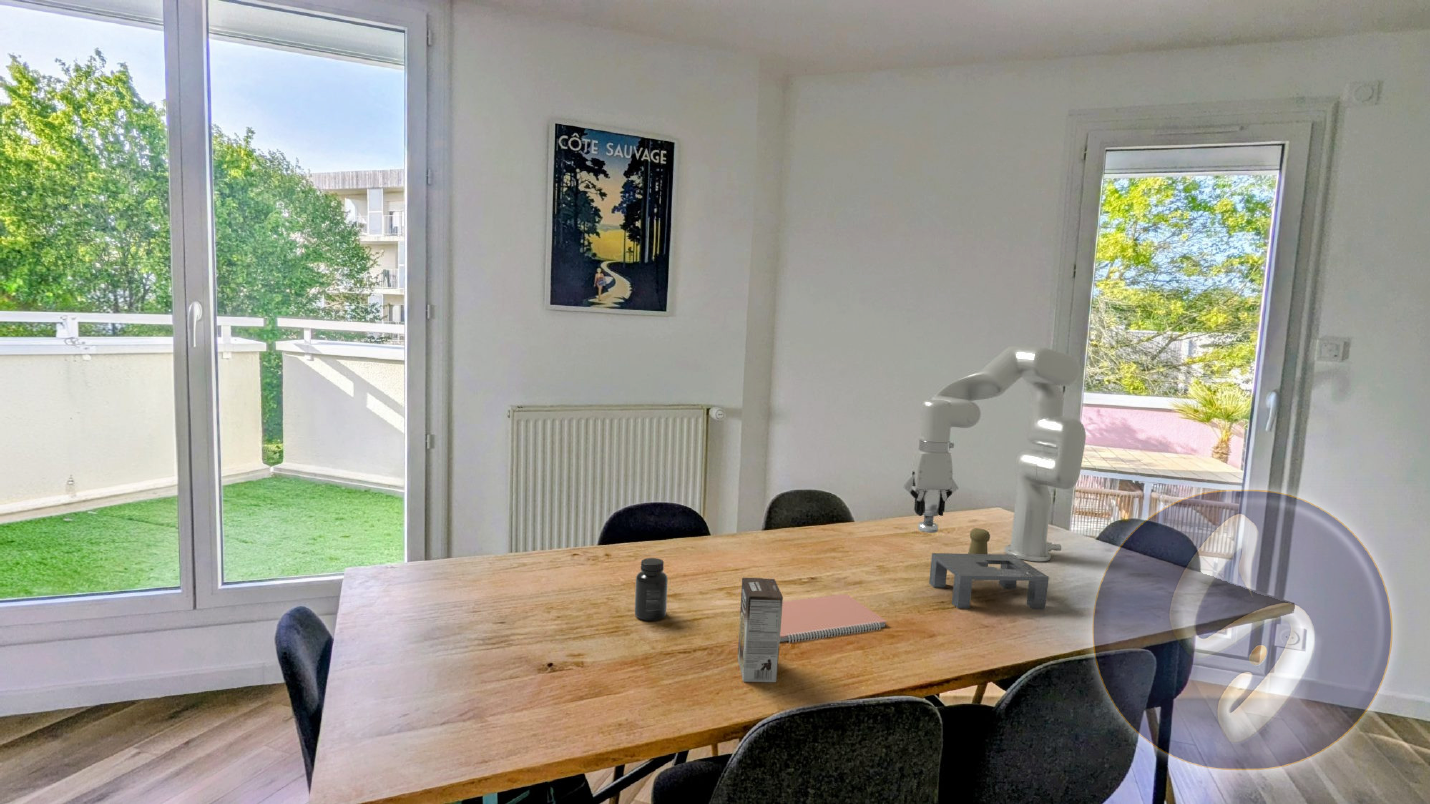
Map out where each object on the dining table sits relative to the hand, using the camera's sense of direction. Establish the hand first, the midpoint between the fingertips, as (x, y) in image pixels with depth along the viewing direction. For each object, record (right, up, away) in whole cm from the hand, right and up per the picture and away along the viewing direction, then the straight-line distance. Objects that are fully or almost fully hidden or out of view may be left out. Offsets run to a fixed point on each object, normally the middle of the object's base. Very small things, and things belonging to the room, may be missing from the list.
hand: (929, 513), depth 186 cm
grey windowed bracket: (+10, -18, -12) cm, 24 cm away
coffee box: (-49, -20, -56) cm, 77 cm away
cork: (+16, -17, +9) cm, 24 cm away
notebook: (-35, -19, -32) cm, 51 cm away
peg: (0, -4, +1) cm, 4 cm away
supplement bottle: (-71, -16, -35) cm, 81 cm away
